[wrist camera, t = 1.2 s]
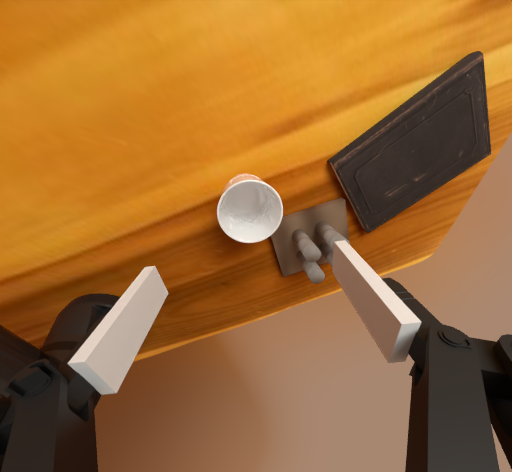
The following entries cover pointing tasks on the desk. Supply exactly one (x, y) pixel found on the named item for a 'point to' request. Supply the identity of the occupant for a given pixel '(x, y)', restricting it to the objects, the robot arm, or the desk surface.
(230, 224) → the white cup
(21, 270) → the desk surface
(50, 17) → the desk surface
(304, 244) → the peg stand
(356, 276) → the robot arm
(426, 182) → the hardcover book
